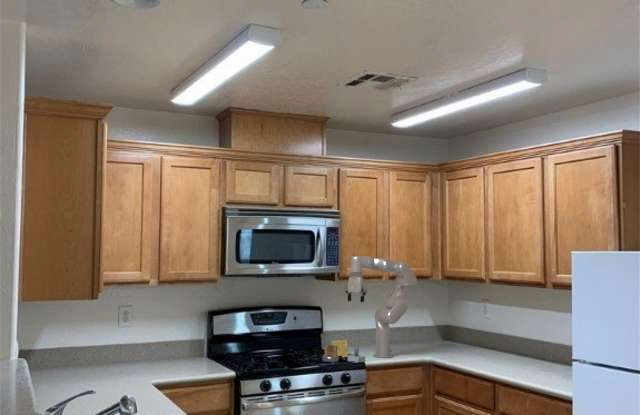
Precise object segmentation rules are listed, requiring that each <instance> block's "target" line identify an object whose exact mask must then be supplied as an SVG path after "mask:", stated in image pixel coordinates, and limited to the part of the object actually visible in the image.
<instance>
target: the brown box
mask: <svg viewBox="0 0 640 415" xmlns="http://www.w3.org/2000/svg"><path fill="white" fill-rule="evenodd" d="M324 355H325V356H326V357H336V356H337V346H334V345H332V344H331V345H330V344H328V345H327V344H326V345H325V346H324Z"/></svg>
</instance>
